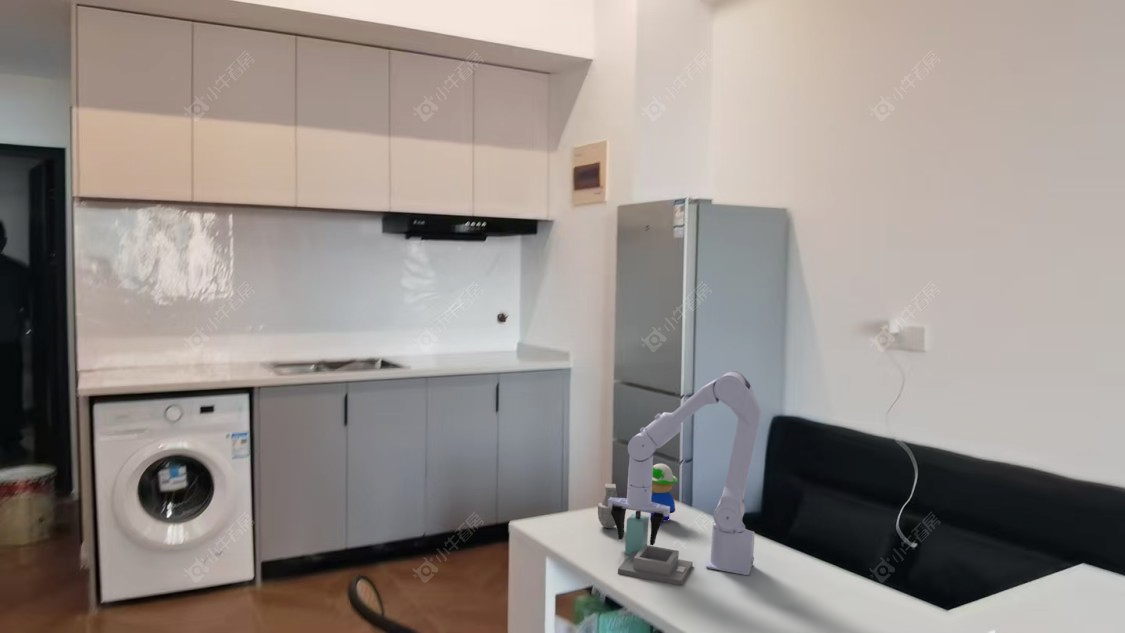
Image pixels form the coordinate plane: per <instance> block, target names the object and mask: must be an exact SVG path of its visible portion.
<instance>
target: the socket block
mask: <svg viewBox="0 0 1125 633" xmlns="http://www.w3.org/2000/svg"><path fill="white" fill-rule="evenodd" d="M679 554H680V551H679V550H675V549H670V548H664V547H658V546H655V545H650V544H649V545H648V544H647V545H644V546H643V547H642V548H641V550H640V551H639V552H636V551H632V553H631V554H628V556H627V558H626V559H625V560H624V561H623V562H622V564H620V566H619V567H617V568H618V569H617V574H620V575H626V576H630V577H634V578H635V577H636V578H639V579H640V578H641V579H645V580H650V579H651V581H655V582H656V581H657V582H661V583H664V584H665V583H667V584H672V585H676V586H682V585H683V583H684V581H685V580H686V578H687V576H688V575H689V573H690V571H691V569H692V567H693V563H694V562H693V561H691V560H690V561H689V560H685V559H680V558H679Z"/></svg>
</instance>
